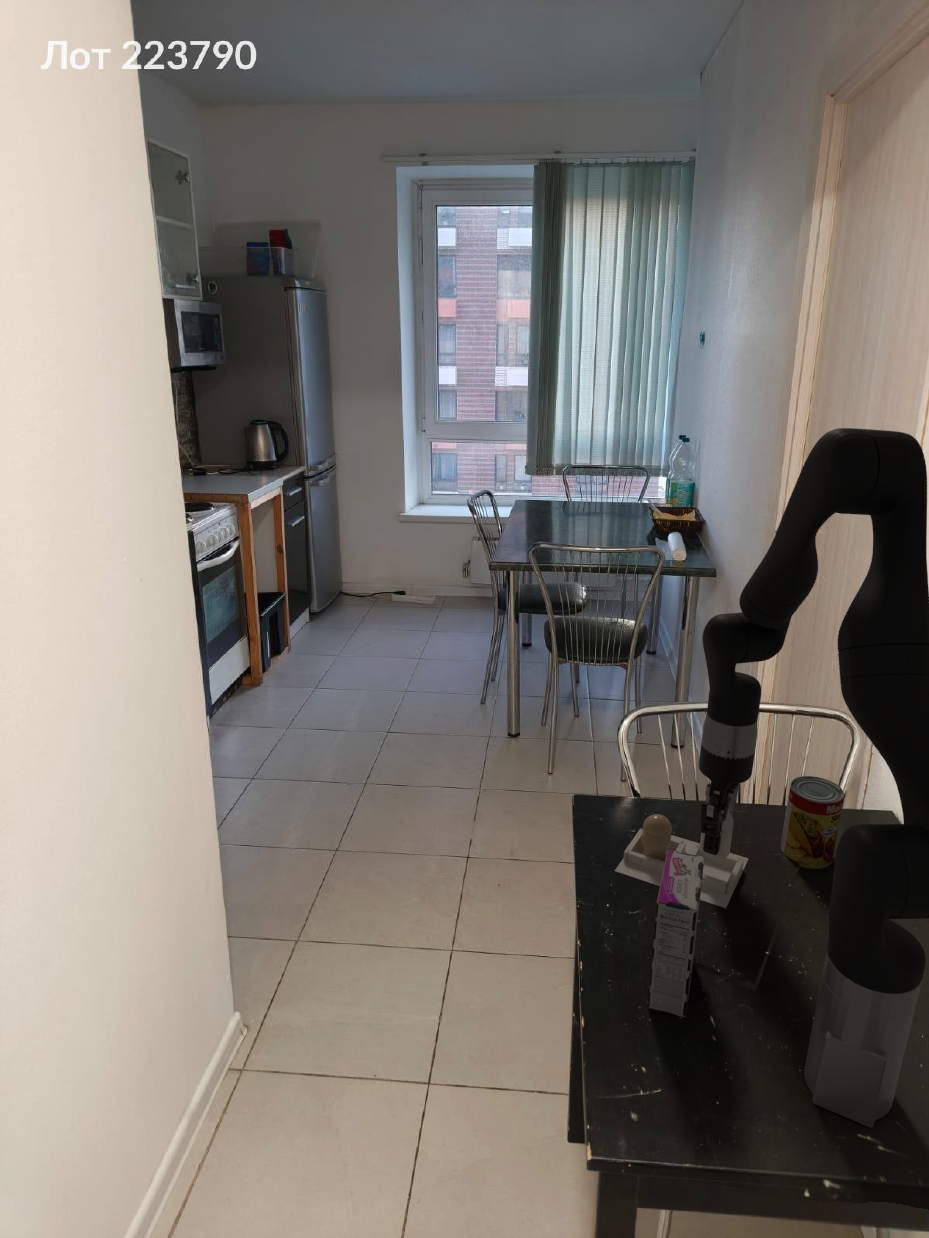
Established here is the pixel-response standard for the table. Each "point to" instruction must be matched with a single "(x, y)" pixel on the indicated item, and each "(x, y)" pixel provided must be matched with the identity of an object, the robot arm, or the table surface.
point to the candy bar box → (675, 933)
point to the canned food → (812, 821)
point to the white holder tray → (716, 872)
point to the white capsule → (724, 842)
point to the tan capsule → (656, 837)
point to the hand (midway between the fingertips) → (715, 843)
